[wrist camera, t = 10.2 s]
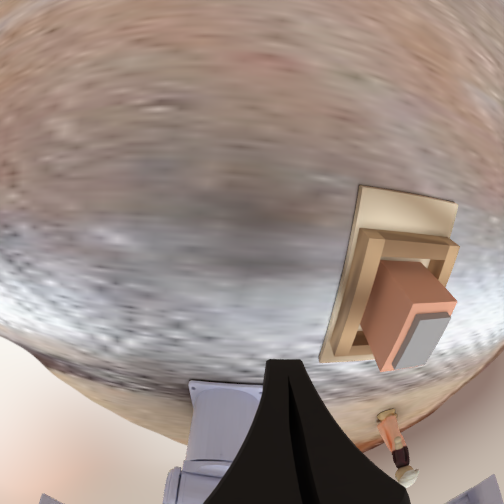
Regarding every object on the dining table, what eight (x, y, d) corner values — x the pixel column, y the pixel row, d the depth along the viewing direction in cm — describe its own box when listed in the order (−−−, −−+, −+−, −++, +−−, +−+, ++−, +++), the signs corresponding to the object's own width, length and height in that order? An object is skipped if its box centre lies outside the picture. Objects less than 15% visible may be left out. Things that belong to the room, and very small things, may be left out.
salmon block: (398, 321, 21) (425, 370, 16) (359, 323, 21) (382, 378, 15) (420, 262, 18) (461, 306, 13) (379, 259, 18) (417, 309, 13)
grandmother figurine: (367, 416, 30) (386, 492, 18) (391, 403, 29) (416, 480, 17) (384, 427, 32) (401, 492, 21) (405, 416, 31) (426, 480, 20)
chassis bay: (398, 352, 24) (406, 368, 22) (318, 358, 24) (322, 377, 21) (454, 202, 17) (471, 212, 15) (359, 184, 17) (373, 193, 14)
